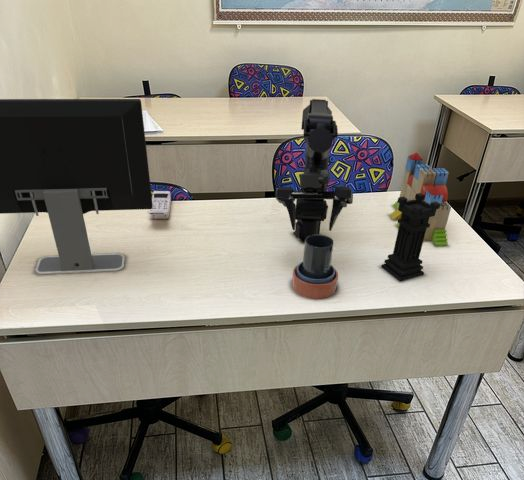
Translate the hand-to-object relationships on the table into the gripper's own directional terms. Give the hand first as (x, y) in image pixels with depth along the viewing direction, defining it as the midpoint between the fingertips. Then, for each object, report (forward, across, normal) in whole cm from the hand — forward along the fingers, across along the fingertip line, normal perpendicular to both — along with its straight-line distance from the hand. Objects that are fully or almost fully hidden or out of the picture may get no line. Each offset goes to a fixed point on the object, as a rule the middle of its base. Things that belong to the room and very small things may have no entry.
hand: (311, 230), depth 127 cm
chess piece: (+7, +23, +17) cm, 29 cm away
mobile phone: (-9, -52, +21) cm, 57 cm away
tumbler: (+13, +1, +3) cm, 13 cm away
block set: (-10, +26, +41) cm, 50 cm away
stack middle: (+14, +1, +3) cm, 14 cm away
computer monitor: (+12, -60, -8) cm, 62 cm away
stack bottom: (+14, +1, +3) cm, 14 cm away
